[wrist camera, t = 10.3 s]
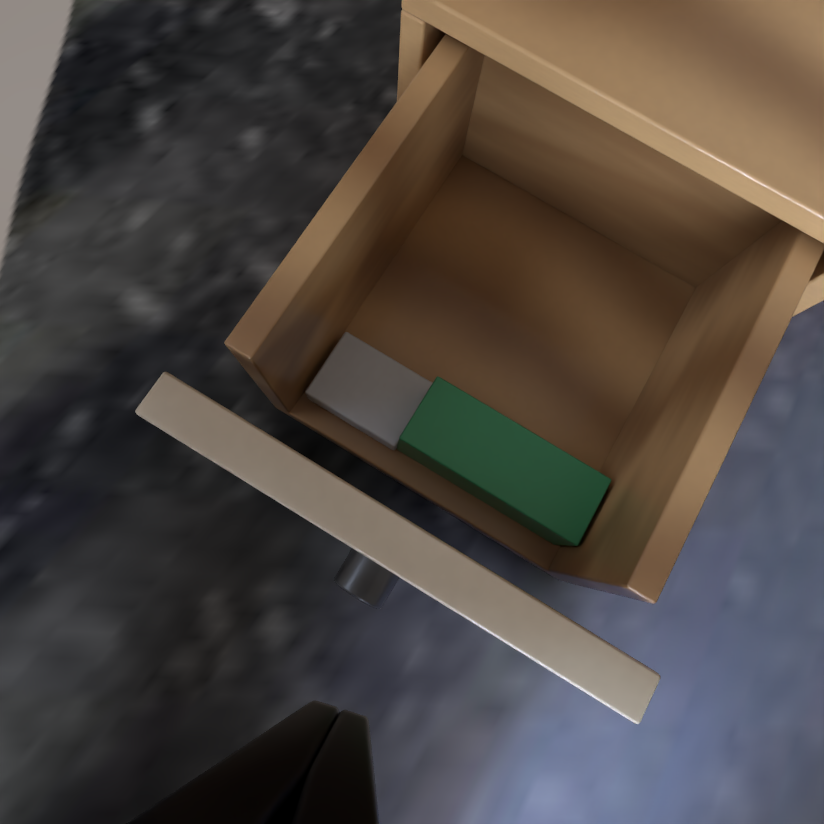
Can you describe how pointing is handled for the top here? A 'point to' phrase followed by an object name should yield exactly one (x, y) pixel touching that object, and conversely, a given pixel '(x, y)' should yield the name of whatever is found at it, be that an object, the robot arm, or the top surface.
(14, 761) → the top surface
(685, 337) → the drawer
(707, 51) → the cabinet
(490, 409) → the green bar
